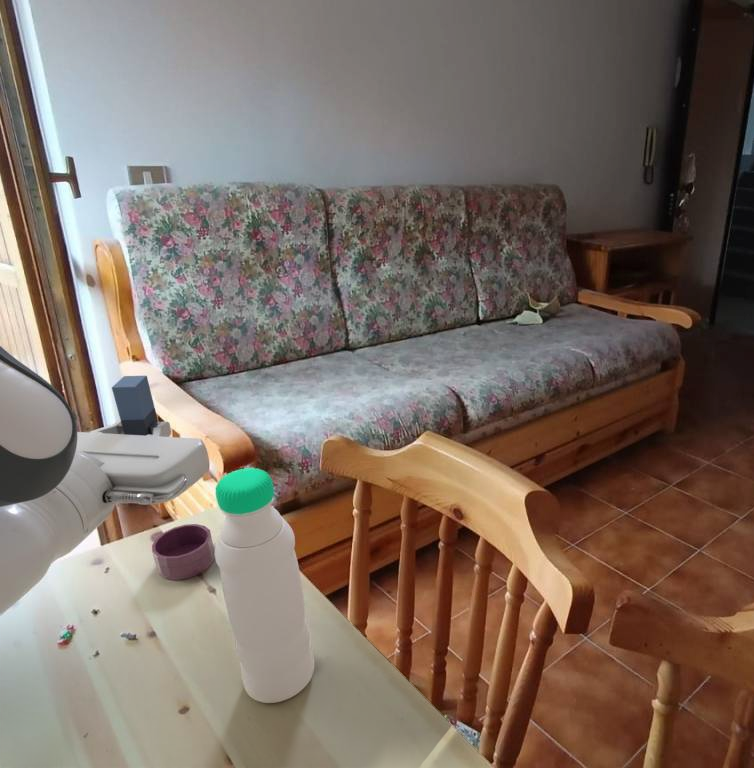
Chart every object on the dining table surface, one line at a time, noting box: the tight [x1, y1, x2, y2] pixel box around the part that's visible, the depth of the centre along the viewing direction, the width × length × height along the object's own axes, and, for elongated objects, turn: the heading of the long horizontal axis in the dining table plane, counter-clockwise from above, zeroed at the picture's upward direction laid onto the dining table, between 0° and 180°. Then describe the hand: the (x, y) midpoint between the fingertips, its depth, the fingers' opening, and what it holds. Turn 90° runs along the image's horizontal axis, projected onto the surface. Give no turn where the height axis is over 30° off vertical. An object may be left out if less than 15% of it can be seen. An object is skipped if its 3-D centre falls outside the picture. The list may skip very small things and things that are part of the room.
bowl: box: [151, 523, 216, 581], centre depth 82 cm, size 7×7×4 cm
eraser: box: [111, 375, 159, 436], centre depth 71 cm, size 2×3×13 cm
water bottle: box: [214, 467, 315, 704], centre depth 61 cm, size 7×7×25 cm
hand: (146, 425), depth 71 cm, fingers closed on eraser, 3 cm apart
